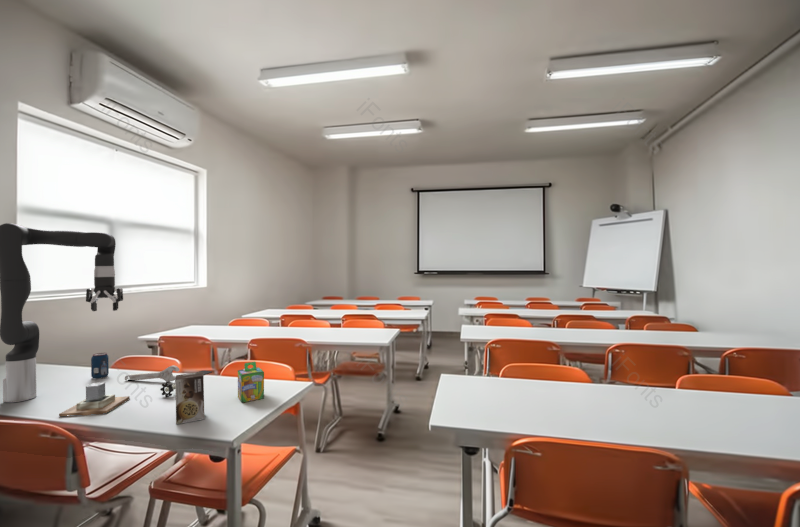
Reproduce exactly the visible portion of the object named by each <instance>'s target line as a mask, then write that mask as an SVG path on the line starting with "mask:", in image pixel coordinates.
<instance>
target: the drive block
mask: <svg viewBox="0 0 800 527" xmlns="http://www.w3.org/2000/svg"><path fill="white" fill-rule="evenodd" d="M105 395H106V382H93V383H90V384H89V385H87V386H85V399H86V402H97V401H102V400H104V399H105Z"/></svg>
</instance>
